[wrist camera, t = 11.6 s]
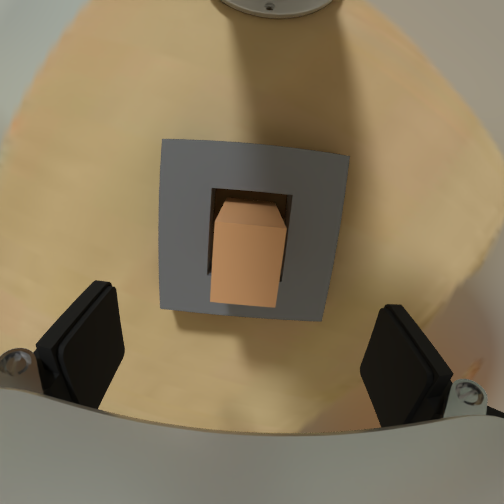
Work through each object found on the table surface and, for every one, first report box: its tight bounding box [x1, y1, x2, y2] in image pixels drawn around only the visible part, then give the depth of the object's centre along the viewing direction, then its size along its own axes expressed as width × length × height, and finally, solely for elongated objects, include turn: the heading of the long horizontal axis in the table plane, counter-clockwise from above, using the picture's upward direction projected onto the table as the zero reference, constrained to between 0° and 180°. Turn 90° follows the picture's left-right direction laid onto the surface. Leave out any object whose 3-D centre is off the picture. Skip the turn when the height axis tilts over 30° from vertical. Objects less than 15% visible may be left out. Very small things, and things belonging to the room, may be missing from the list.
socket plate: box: [159, 139, 350, 321], centre depth 25 cm, size 14×14×3 cm
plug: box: [210, 197, 287, 308], centre depth 22 cm, size 5×4×9 cm
